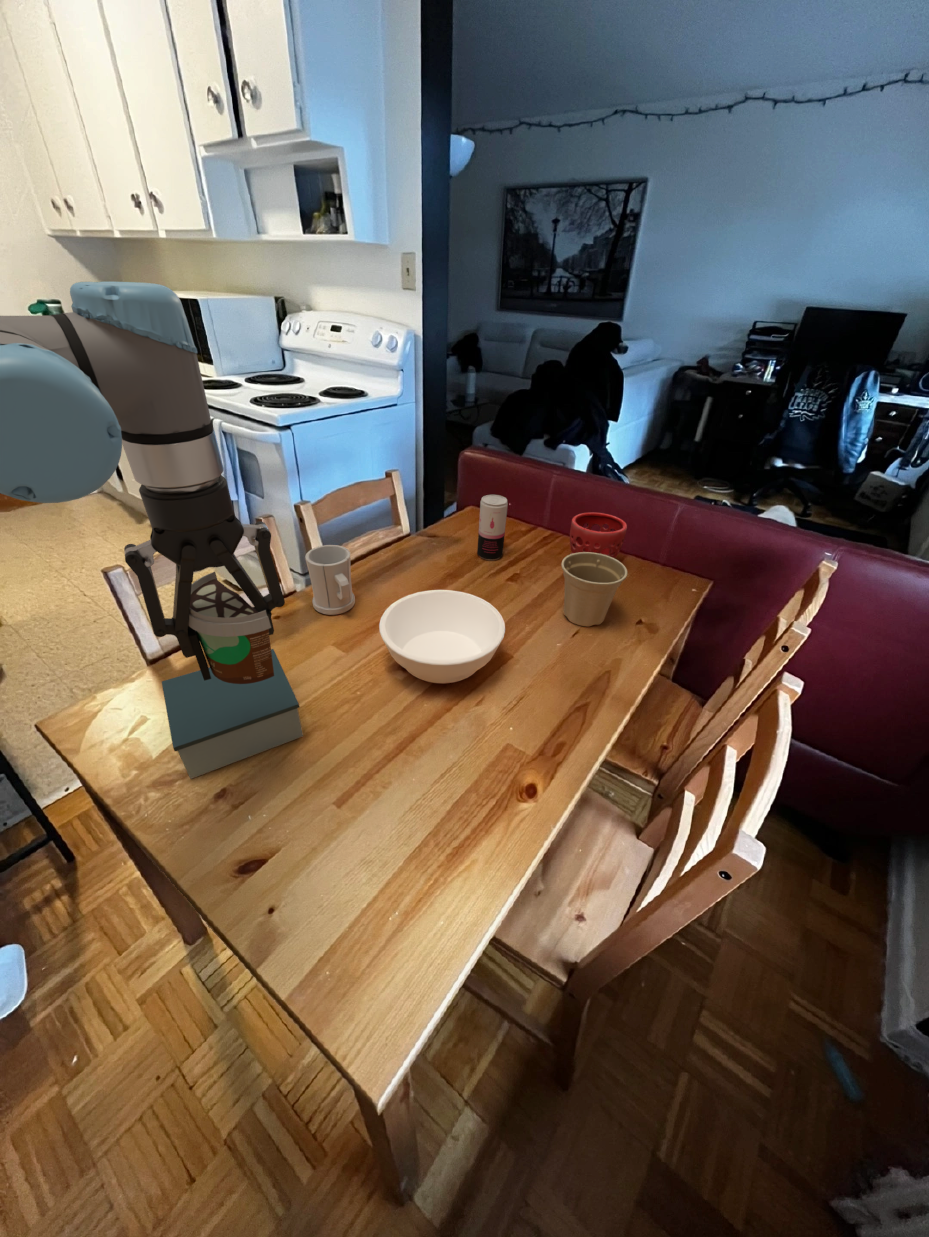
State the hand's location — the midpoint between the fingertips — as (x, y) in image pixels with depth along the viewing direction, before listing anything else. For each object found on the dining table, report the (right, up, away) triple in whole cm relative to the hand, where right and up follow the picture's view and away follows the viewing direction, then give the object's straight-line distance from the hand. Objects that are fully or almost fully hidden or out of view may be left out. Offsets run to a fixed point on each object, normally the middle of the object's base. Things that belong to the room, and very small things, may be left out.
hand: (236, 663), depth 60 cm
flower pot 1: (+60, +19, +66) cm, 91 cm away
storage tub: (-8, -11, +18) cm, 23 cm away
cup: (+1, +8, +46) cm, 47 cm away
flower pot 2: (+53, +6, +47) cm, 72 cm away
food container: (-1, -1, 0) cm, 1 cm away
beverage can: (+34, +22, +68) cm, 79 cm away
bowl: (+23, -2, +33) cm, 41 cm away
